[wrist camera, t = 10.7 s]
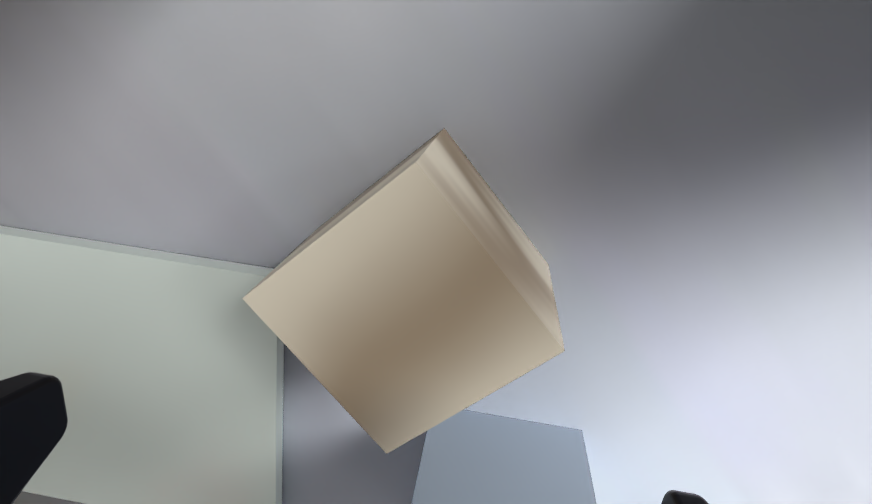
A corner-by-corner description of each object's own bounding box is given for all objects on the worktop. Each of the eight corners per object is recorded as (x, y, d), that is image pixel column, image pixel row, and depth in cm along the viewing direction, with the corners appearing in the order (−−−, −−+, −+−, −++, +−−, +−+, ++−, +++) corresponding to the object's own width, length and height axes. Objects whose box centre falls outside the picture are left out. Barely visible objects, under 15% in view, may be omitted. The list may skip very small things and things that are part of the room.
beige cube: (317, 228, 16) (241, 298, 12) (444, 127, 15) (416, 161, 10) (423, 352, 18) (393, 460, 13) (552, 269, 16) (571, 359, 11)
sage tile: (284, 270, 17) (277, 277, 16) (281, 528, 21) (275, 541, 20) (-36, 220, 18) (-53, 225, 17) (20, 476, 22) (7, 488, 21)
